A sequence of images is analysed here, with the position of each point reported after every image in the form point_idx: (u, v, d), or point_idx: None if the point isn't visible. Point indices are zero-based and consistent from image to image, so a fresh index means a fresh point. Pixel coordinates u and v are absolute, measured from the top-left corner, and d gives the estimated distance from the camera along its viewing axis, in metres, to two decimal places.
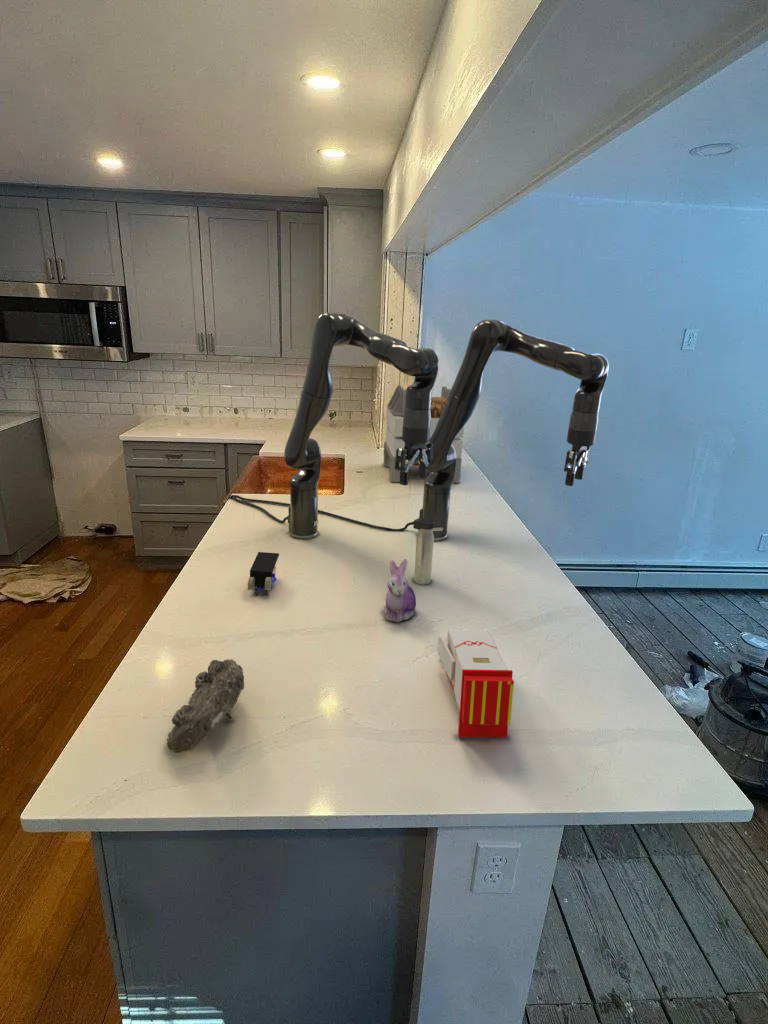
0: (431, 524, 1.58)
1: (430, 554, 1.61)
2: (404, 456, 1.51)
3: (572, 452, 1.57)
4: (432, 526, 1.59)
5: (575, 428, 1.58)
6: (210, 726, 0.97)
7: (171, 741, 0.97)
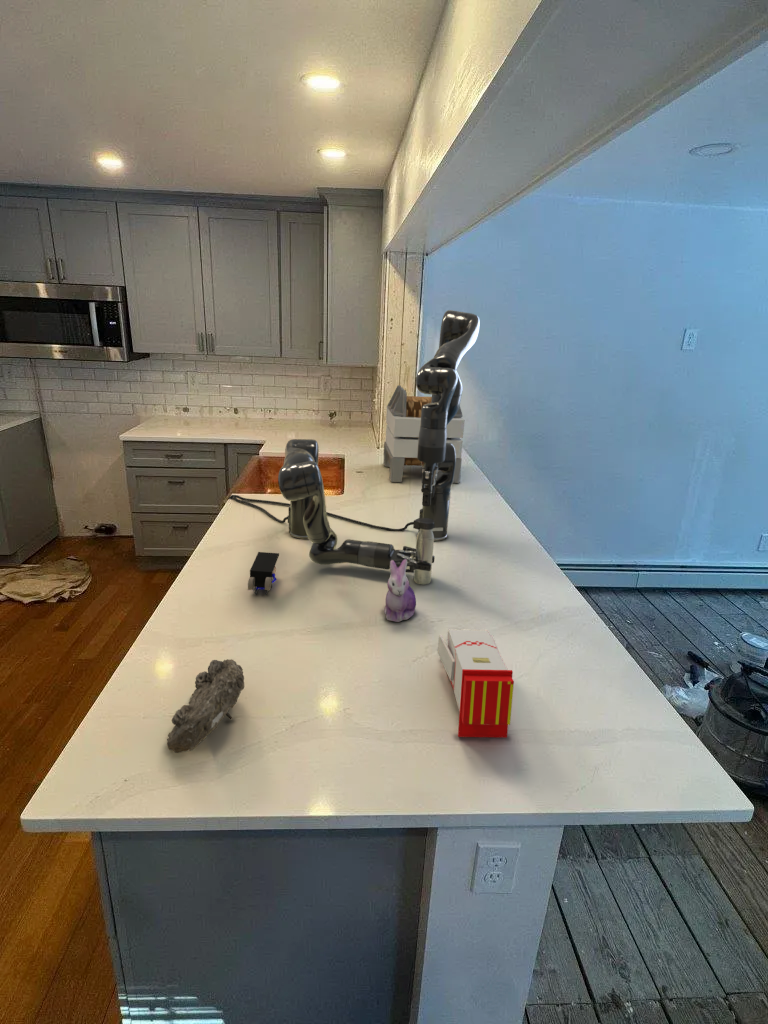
0: (431, 524, 1.58)
1: (430, 554, 1.61)
2: None
3: None
4: (432, 526, 1.59)
5: None
6: (210, 726, 0.97)
7: (171, 741, 0.97)
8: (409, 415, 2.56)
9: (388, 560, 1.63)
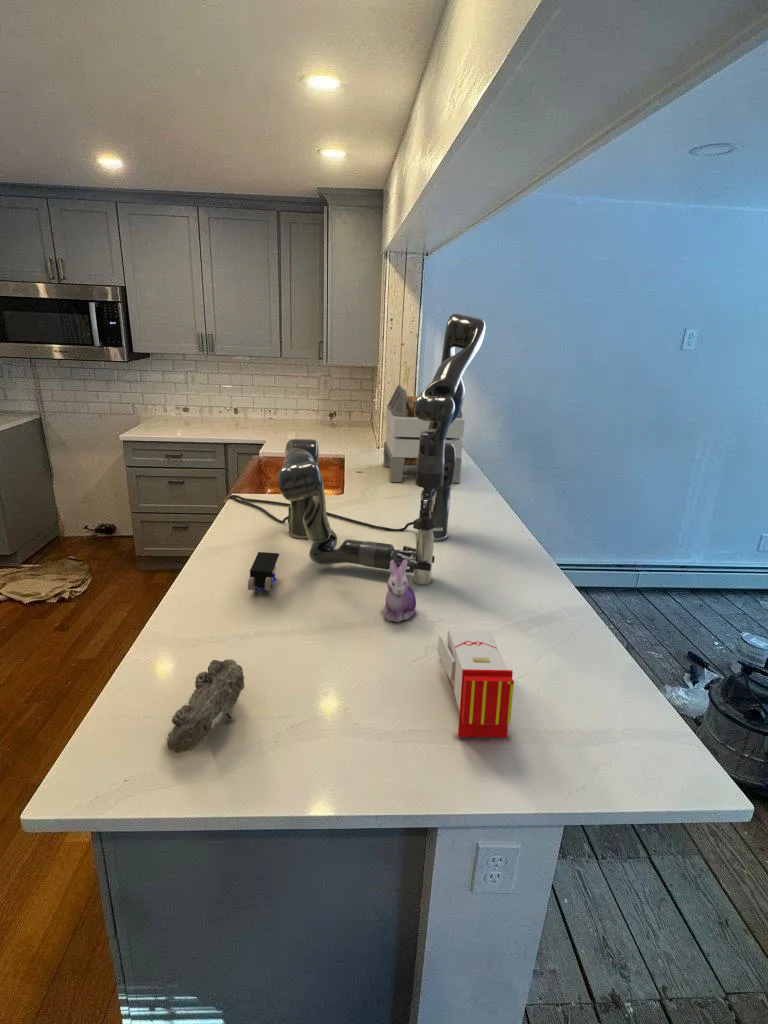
0: (431, 524, 1.58)
1: (430, 554, 1.61)
2: None
3: None
4: (432, 526, 1.59)
5: None
6: (210, 726, 0.97)
7: (171, 741, 0.97)
8: (409, 415, 2.56)
9: (388, 560, 1.63)
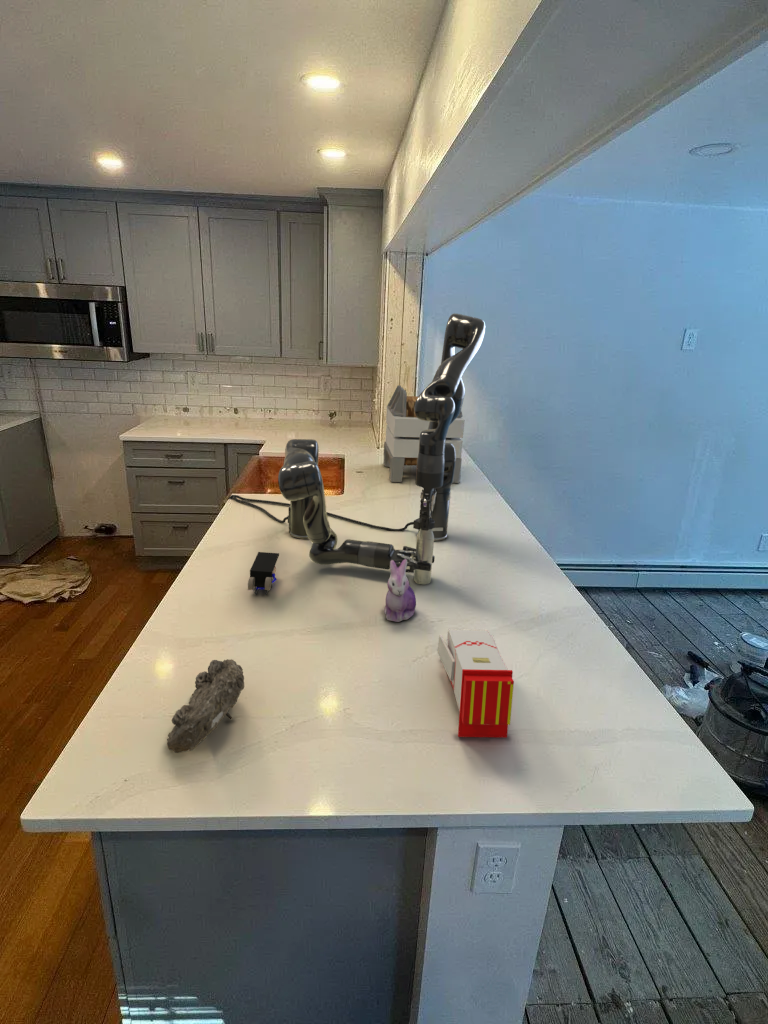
0: None
1: (430, 554, 1.61)
2: None
3: None
4: None
5: None
6: (210, 726, 0.97)
7: (171, 741, 0.97)
8: (409, 415, 2.56)
9: (388, 560, 1.63)
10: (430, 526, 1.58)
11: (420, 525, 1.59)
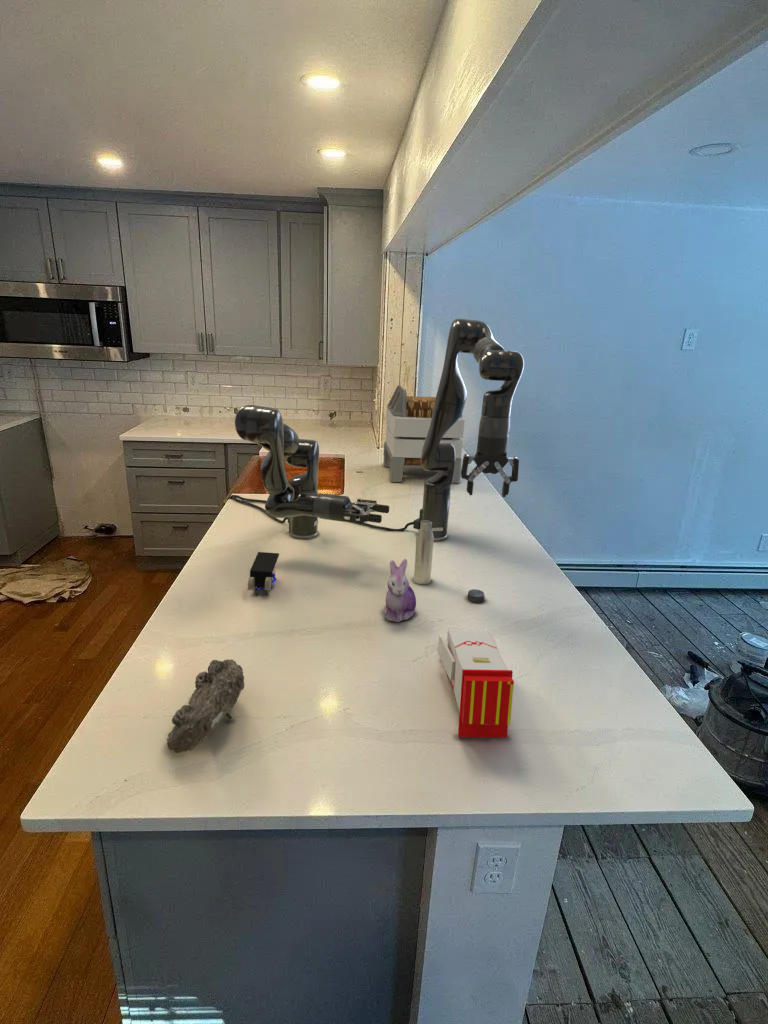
0: None
1: (430, 554, 1.62)
2: None
3: (464, 456, 1.43)
4: None
5: None
6: (210, 726, 0.97)
7: (171, 741, 0.97)
8: (409, 415, 2.56)
9: (343, 510, 1.61)
10: (483, 598, 1.56)
11: (474, 600, 1.55)
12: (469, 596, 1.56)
